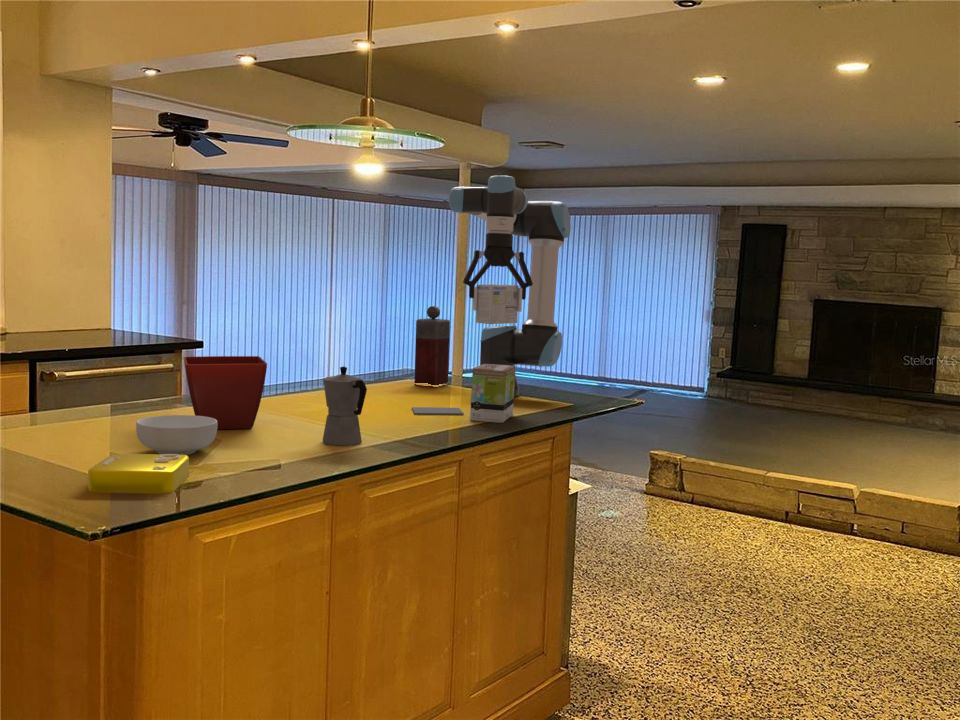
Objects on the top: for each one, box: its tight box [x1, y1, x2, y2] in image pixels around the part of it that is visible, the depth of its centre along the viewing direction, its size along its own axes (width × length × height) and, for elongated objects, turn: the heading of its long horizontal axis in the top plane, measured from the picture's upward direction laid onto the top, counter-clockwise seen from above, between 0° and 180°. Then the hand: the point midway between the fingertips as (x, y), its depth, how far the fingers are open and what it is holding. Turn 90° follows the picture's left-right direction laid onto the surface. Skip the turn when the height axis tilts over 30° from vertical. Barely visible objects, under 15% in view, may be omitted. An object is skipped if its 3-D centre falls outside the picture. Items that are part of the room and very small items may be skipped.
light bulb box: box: [475, 284, 520, 325], centre depth 245 cm, size 11×7×11 cm, turn 134°
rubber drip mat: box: [411, 406, 464, 416], centre depth 255 cm, size 10×14×1 cm
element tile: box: [87, 453, 190, 495], centre depth 164 cm, size 15×15×5 cm
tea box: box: [469, 364, 516, 424], centre depth 248 cm, size 15×10×15 cm
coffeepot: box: [322, 366, 368, 447], centre depth 206 cm, size 15×9×18 cm, turn 43°
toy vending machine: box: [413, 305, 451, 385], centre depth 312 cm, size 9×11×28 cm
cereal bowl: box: [135, 414, 218, 456], centre depth 191 cm, size 17×17×7 cm
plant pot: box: [183, 355, 268, 430], centre depth 222 cm, size 19×19×17 cm
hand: (496, 311), depth 246 cm, fingers closed on light bulb box, 12 cm apart
